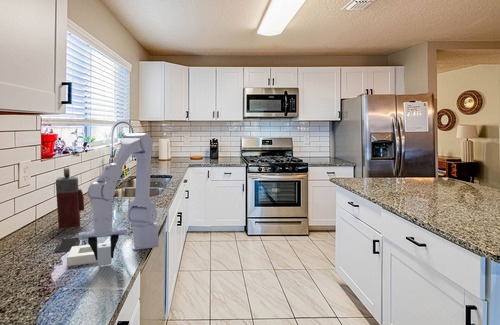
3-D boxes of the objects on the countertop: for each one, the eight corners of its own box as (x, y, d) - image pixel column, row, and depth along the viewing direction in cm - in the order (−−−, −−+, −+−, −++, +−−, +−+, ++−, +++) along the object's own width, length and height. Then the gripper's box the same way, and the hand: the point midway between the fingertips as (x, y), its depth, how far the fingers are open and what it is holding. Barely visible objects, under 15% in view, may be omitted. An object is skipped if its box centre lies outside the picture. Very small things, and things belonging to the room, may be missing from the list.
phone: (54, 251, 127) (60, 239, 141) (54, 253, 127) (60, 242, 141) (77, 248, 130) (81, 237, 144) (77, 251, 130) (81, 239, 144)
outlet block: (107, 250, 129) (107, 242, 129) (105, 261, 118) (105, 252, 118) (72, 254, 125) (72, 246, 125) (67, 266, 114) (66, 257, 114)
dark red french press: (85, 226, 164) (82, 168, 161) (58, 229, 159) (54, 169, 157) (85, 221, 172) (82, 166, 170) (60, 224, 167) (56, 167, 165)
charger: (111, 260, 116) (110, 242, 115) (111, 264, 112) (110, 245, 112) (98, 261, 115) (98, 243, 114) (98, 266, 111) (97, 247, 110)
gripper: (76, 223, 106) (79, 265, 107) (126, 218, 111) (127, 259, 112) (79, 218, 113) (81, 257, 114) (126, 213, 117) (127, 252, 119)
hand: (104, 258), depth 113 cm, fingers closed on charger, 4 cm apart
